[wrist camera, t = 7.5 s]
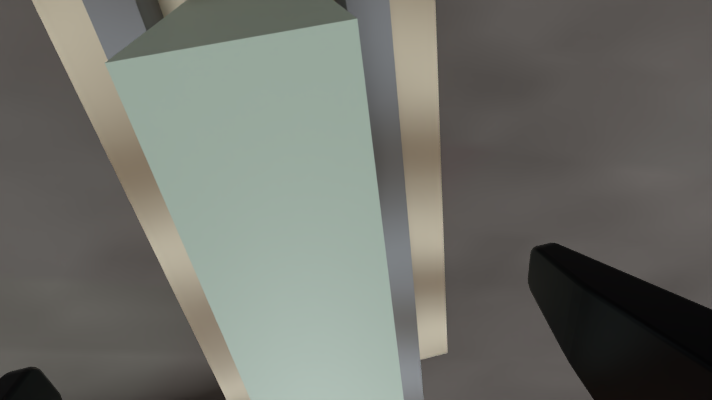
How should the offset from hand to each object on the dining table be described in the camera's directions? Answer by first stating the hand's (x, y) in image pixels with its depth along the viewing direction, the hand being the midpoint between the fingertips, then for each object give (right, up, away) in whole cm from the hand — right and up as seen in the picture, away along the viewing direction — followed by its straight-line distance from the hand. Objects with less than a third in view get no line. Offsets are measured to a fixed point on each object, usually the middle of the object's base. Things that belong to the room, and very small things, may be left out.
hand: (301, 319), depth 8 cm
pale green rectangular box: (-1, +3, +6) cm, 7 cm away
